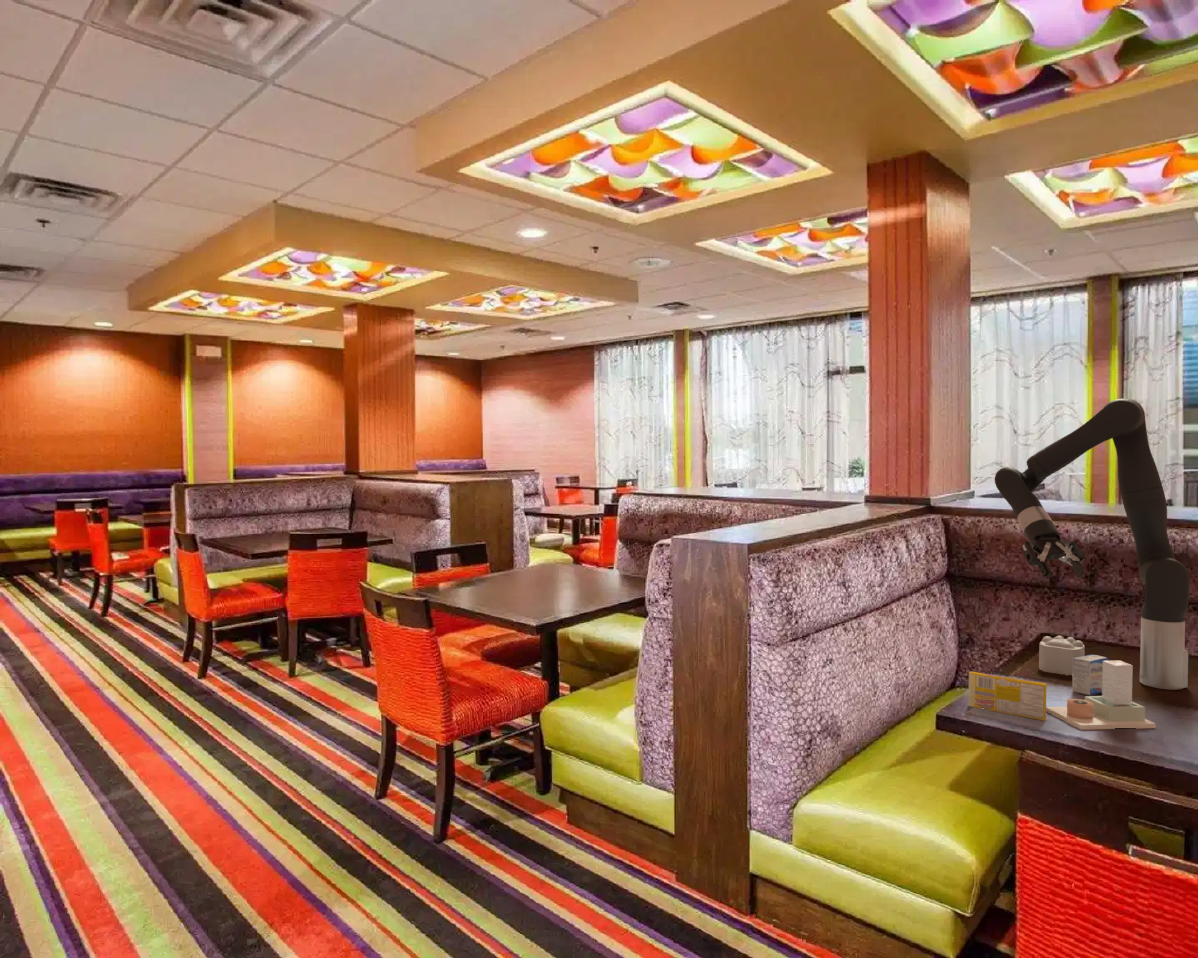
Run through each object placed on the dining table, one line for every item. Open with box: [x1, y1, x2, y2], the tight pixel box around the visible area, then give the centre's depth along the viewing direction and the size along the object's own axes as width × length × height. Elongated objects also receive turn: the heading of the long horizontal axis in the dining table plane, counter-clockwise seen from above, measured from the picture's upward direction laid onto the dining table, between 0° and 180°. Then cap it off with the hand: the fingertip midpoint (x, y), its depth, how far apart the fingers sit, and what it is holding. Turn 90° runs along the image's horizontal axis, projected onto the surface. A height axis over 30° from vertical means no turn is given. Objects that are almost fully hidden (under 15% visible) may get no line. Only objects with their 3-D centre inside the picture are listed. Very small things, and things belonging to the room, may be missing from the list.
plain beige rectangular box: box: [1101, 660, 1134, 707], centre depth 175 cm, size 4×4×12 cm
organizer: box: [1046, 695, 1157, 731], centre depth 175 cm, size 17×12×4 cm
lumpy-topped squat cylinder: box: [1038, 635, 1086, 676], centre depth 217 cm, size 10×13×9 cm
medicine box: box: [1071, 654, 1109, 696], centre depth 196 cm, size 8×4×9 cm, turn 117°
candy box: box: [967, 671, 1048, 722], centre depth 180 cm, size 16×2×8 cm, turn 50°
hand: (1065, 575), depth 199 cm, fingers open, 8 cm apart
